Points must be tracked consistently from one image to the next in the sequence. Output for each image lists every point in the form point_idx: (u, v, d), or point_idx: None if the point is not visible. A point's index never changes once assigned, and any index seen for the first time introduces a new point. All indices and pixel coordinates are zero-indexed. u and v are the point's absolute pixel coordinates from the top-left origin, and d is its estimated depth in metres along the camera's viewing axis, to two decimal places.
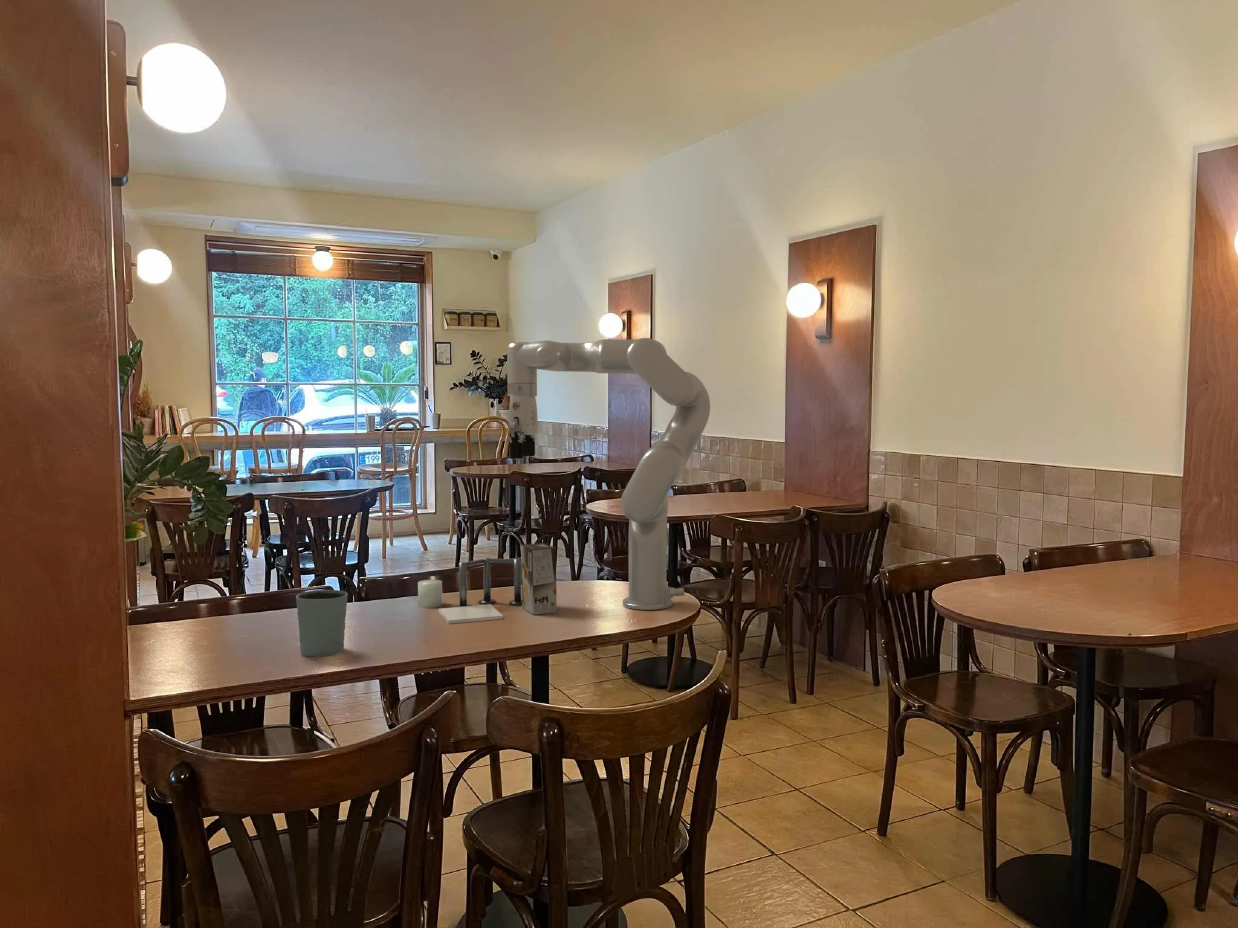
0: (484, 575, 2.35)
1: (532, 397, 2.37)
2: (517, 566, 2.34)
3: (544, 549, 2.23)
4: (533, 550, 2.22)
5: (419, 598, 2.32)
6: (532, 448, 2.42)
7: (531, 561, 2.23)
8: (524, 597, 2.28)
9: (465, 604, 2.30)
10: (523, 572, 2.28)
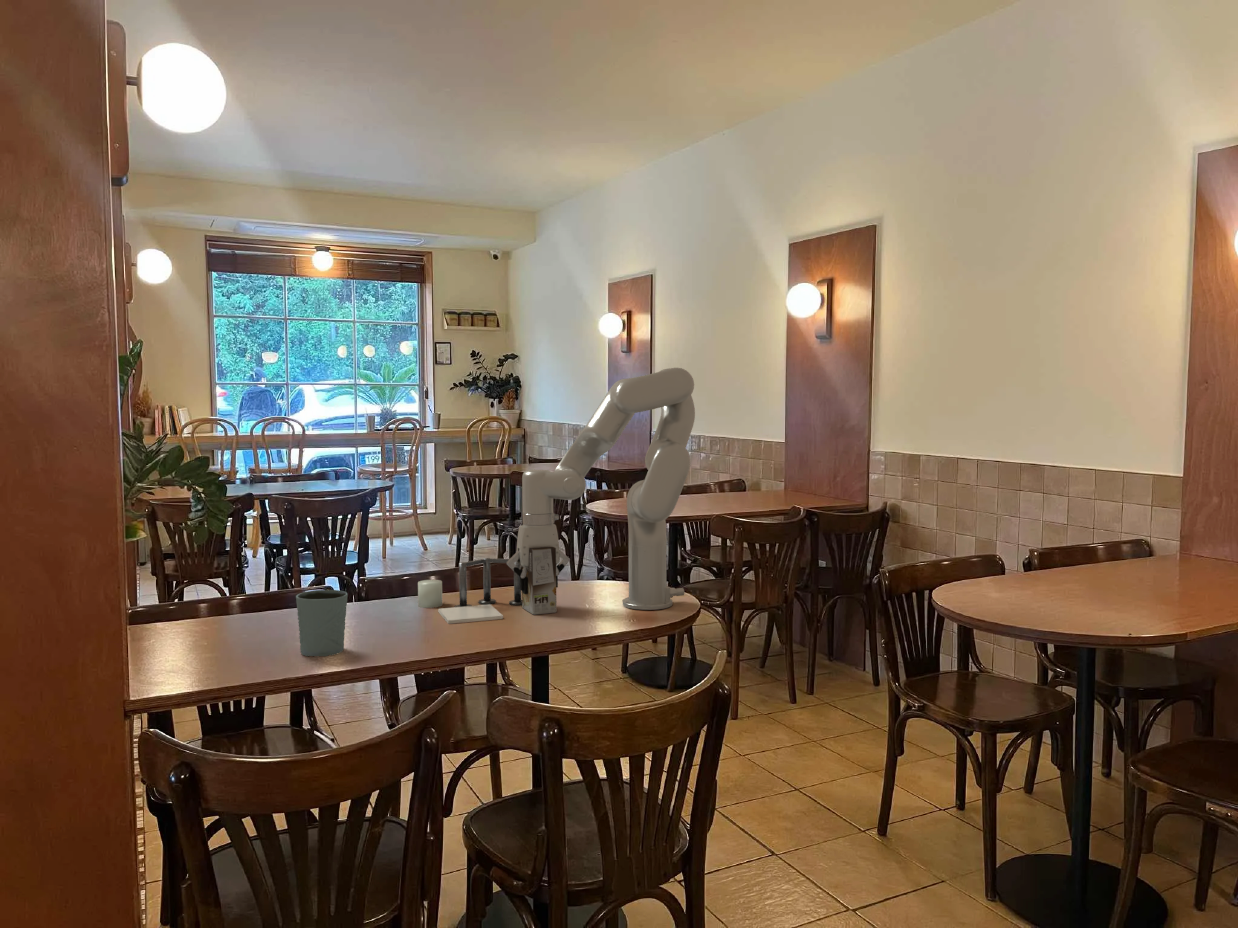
0: (484, 575, 2.35)
1: None
2: (517, 566, 2.34)
3: (544, 549, 2.23)
4: (533, 550, 2.22)
5: (419, 598, 2.32)
6: None
7: (531, 561, 2.23)
8: (524, 597, 2.28)
9: (465, 604, 2.30)
10: None
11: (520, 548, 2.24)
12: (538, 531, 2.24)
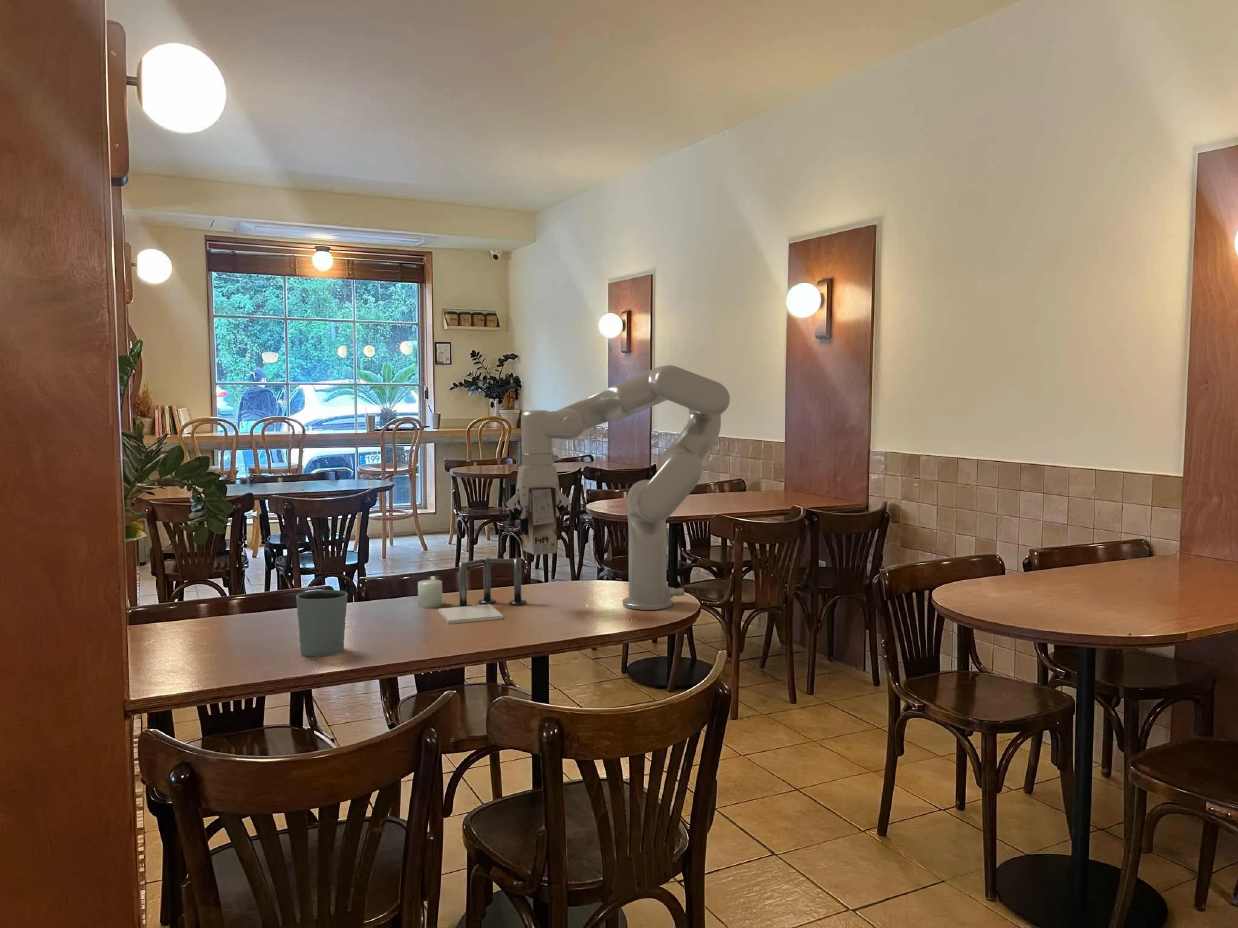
0: (484, 575, 2.35)
1: None
2: (517, 566, 2.34)
3: (544, 489, 2.22)
4: (533, 490, 2.21)
5: (419, 598, 2.32)
6: None
7: (531, 501, 2.22)
8: (524, 539, 2.27)
9: (465, 604, 2.30)
10: None
11: (519, 488, 2.23)
12: (537, 471, 2.23)
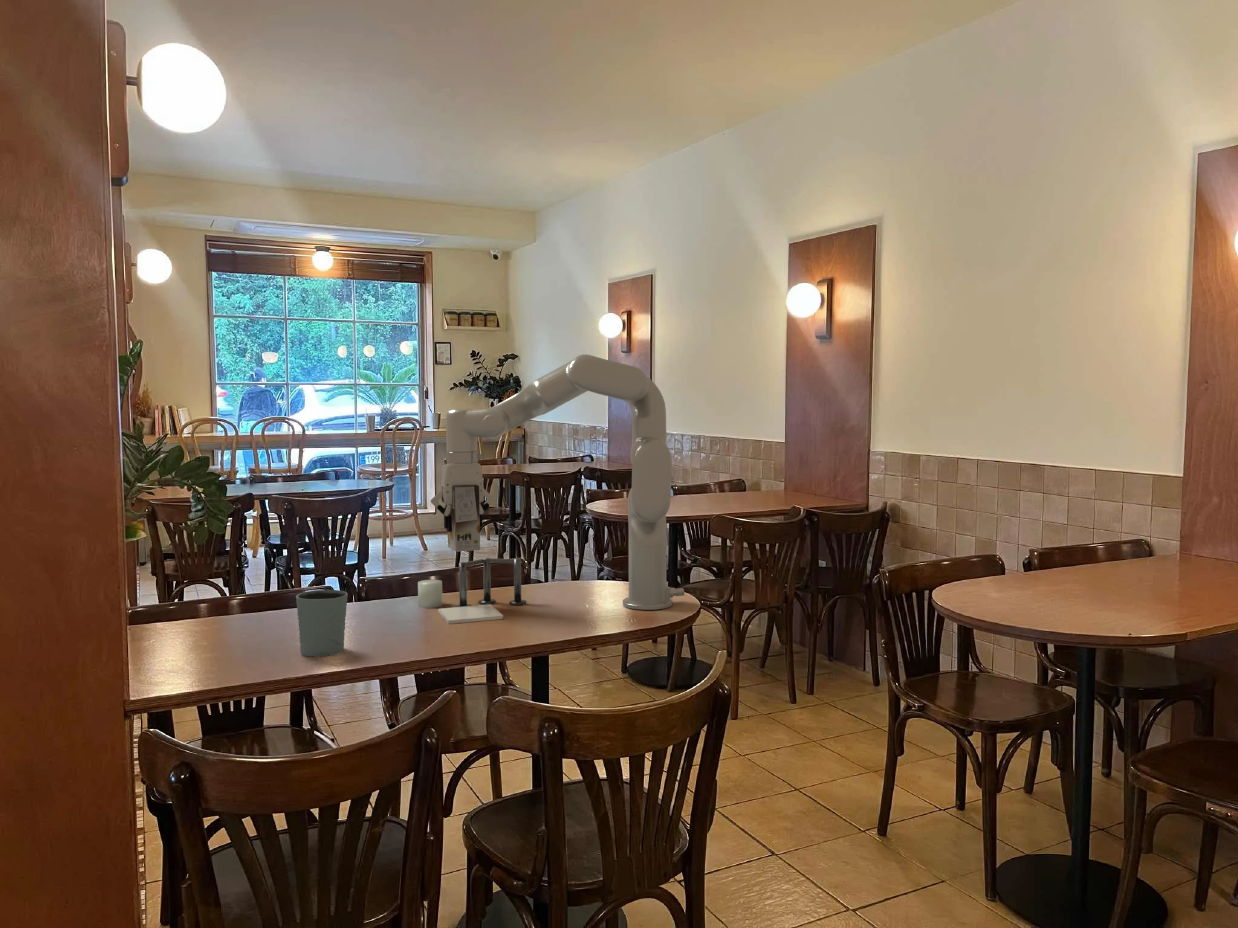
0: (484, 575, 2.35)
1: None
2: (517, 566, 2.34)
3: (467, 486, 2.25)
4: (455, 487, 2.24)
5: (419, 598, 2.32)
6: None
7: (453, 498, 2.24)
8: (449, 536, 2.30)
9: (465, 604, 2.30)
10: None
11: (443, 486, 2.26)
12: (461, 469, 2.26)
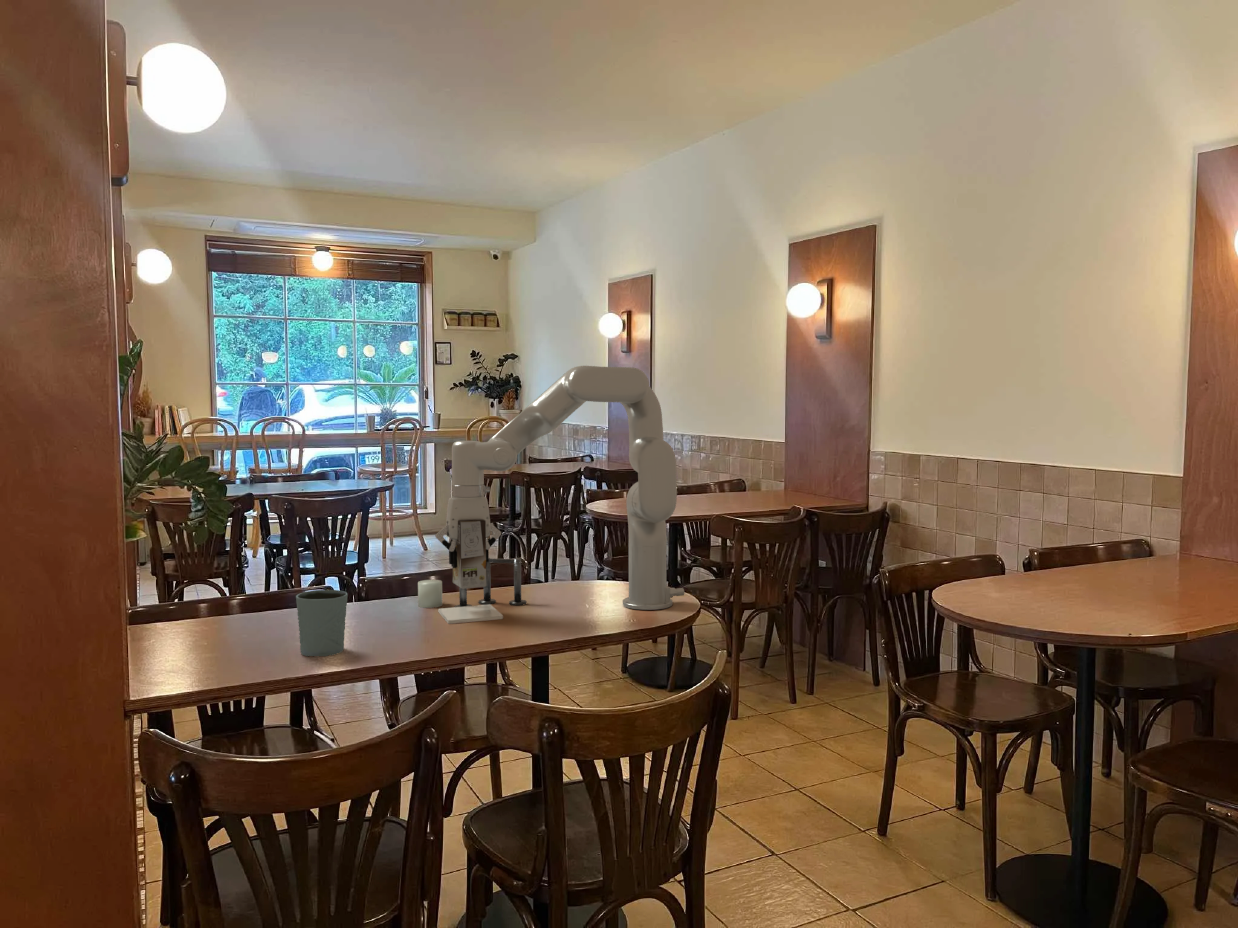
0: None
1: None
2: (517, 566, 2.34)
3: (473, 521, 2.18)
4: (461, 522, 2.16)
5: (419, 598, 2.32)
6: None
7: (459, 534, 2.17)
8: (454, 571, 2.23)
9: (465, 604, 2.30)
10: None
11: (449, 520, 2.18)
12: (467, 503, 2.18)
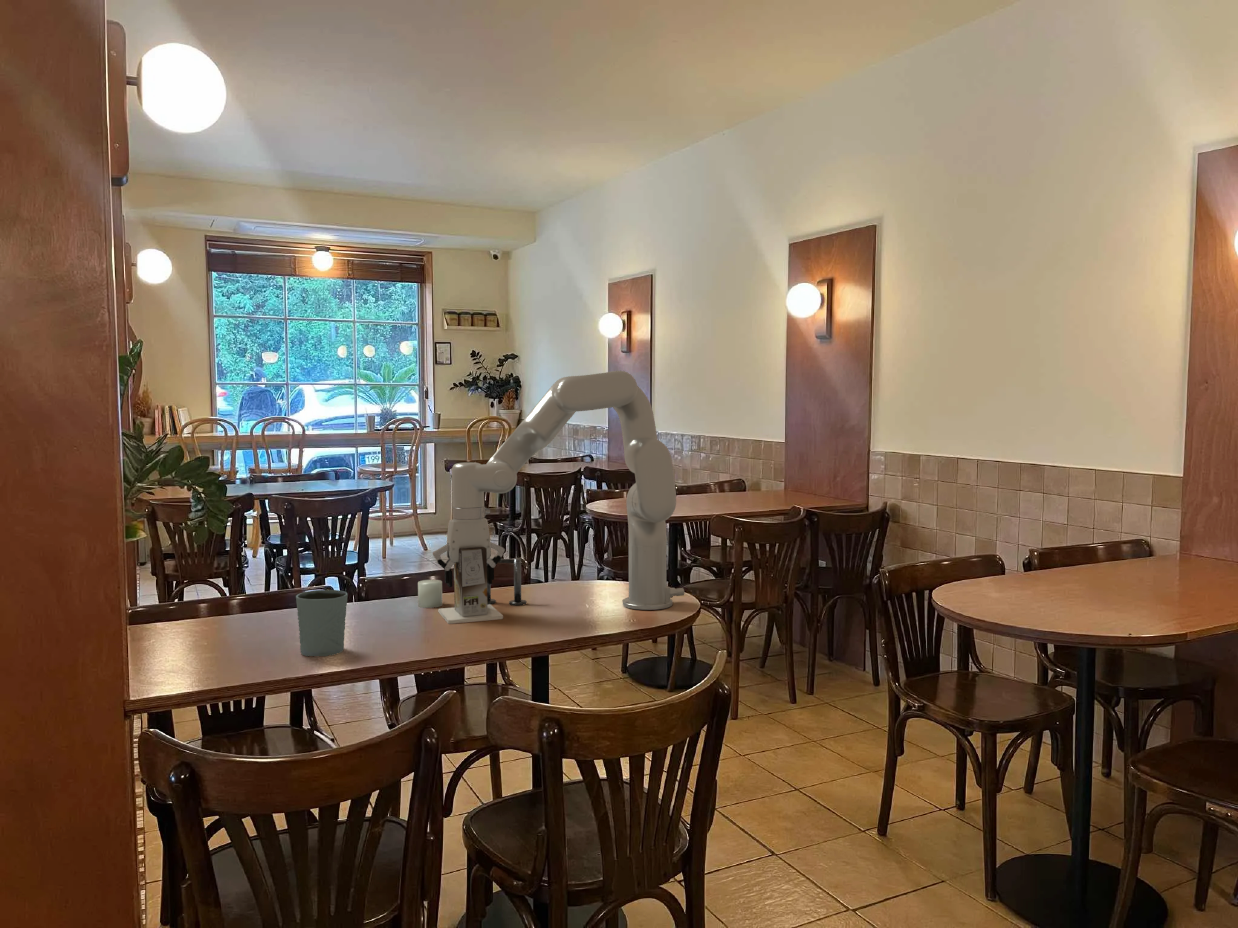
0: None
1: None
2: (517, 566, 2.34)
3: (474, 549, 2.18)
4: (462, 550, 2.17)
5: (419, 598, 2.32)
6: None
7: (460, 562, 2.18)
8: (455, 598, 2.23)
9: None
10: (455, 573, 2.23)
11: (449, 542, 2.19)
12: (467, 526, 2.19)
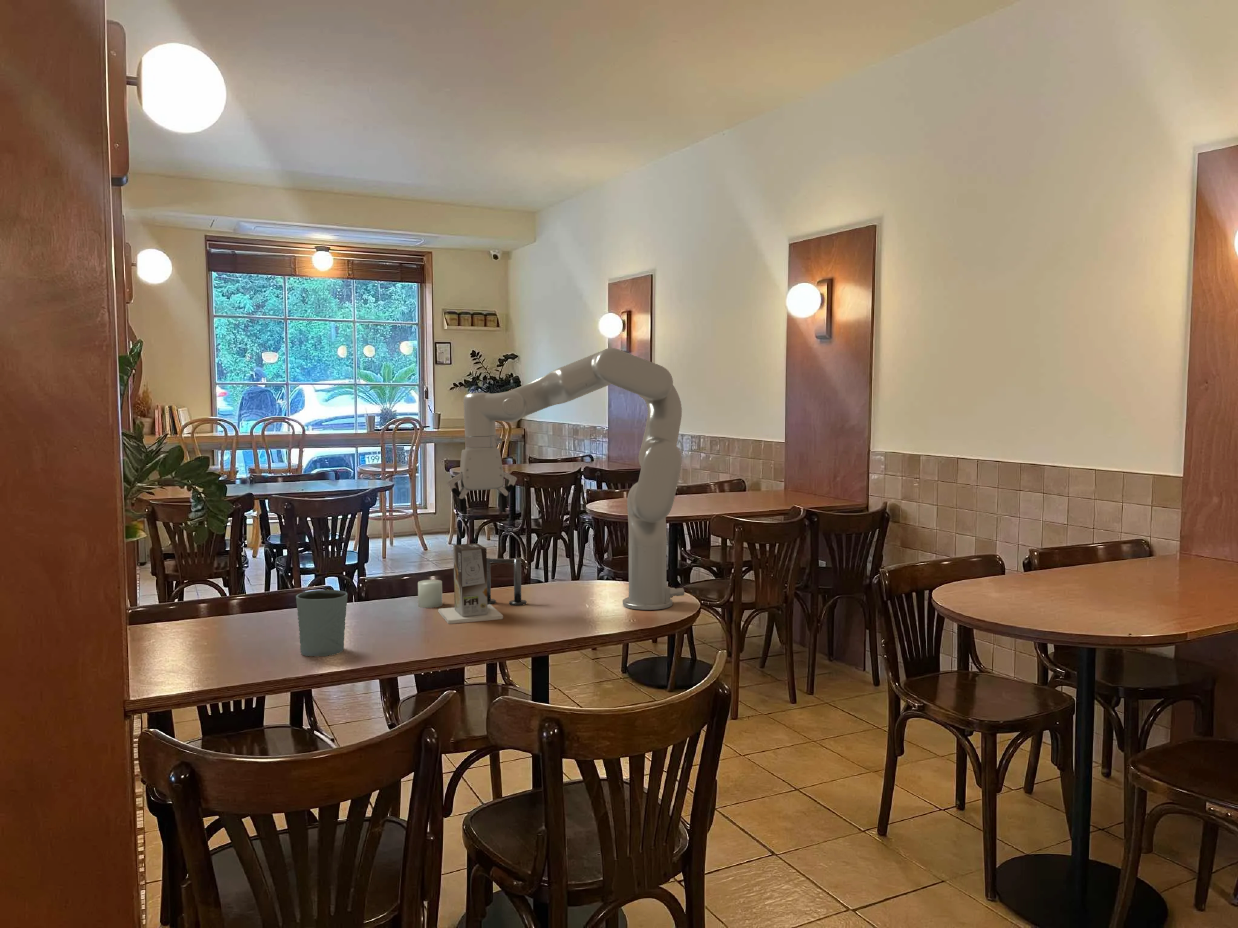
0: None
1: None
2: (517, 566, 2.34)
3: (474, 549, 2.18)
4: (462, 550, 2.17)
5: (419, 598, 2.32)
6: None
7: (460, 562, 2.18)
8: (455, 598, 2.23)
9: None
10: (455, 573, 2.23)
11: (463, 471, 2.23)
12: (480, 454, 2.23)
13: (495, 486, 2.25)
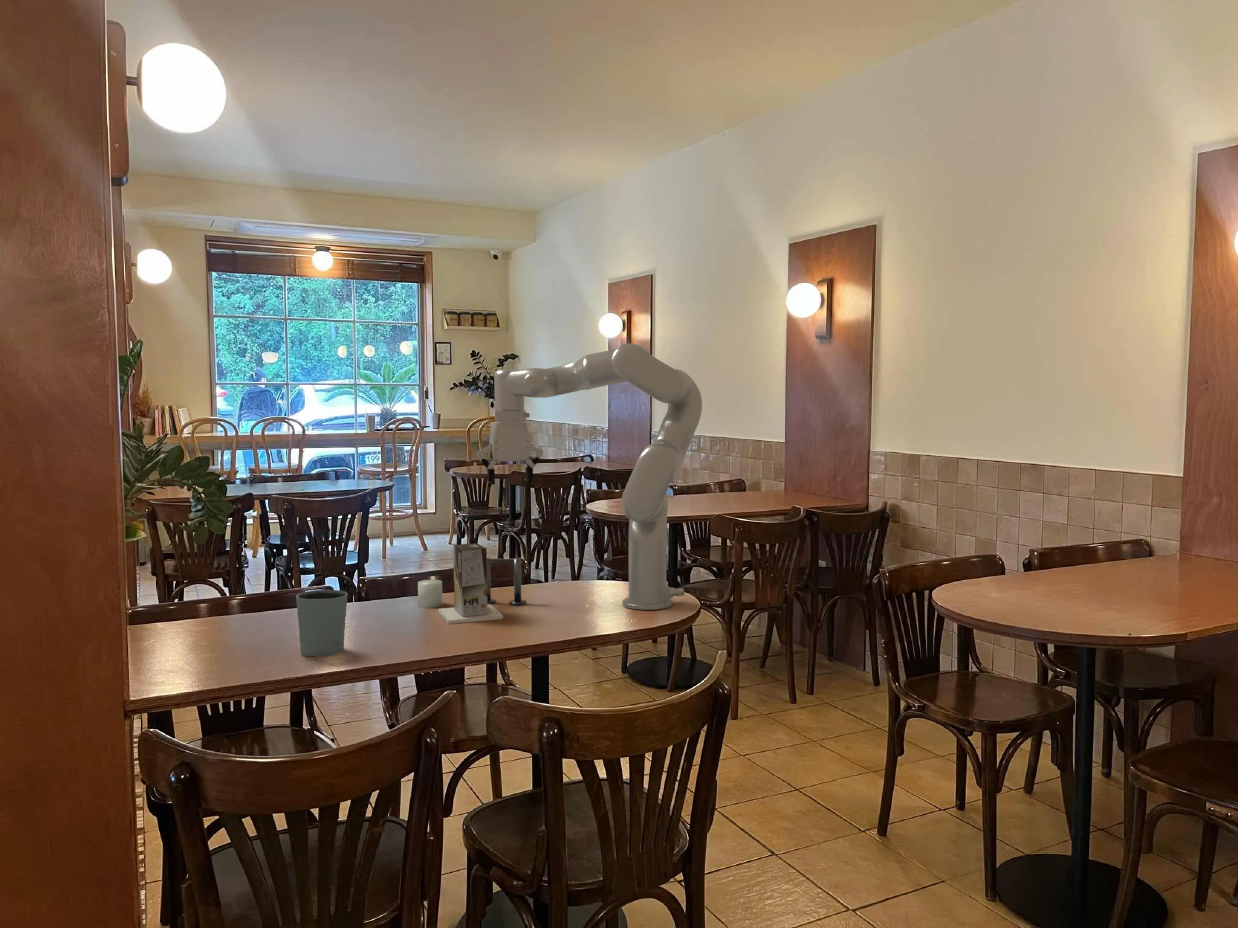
0: None
1: None
2: (517, 566, 2.34)
3: (474, 549, 2.18)
4: (462, 550, 2.17)
5: (419, 598, 2.32)
6: None
7: (460, 562, 2.18)
8: (455, 598, 2.23)
9: None
10: (455, 573, 2.23)
11: (492, 443, 2.35)
12: (509, 427, 2.35)
13: (522, 458, 2.38)
